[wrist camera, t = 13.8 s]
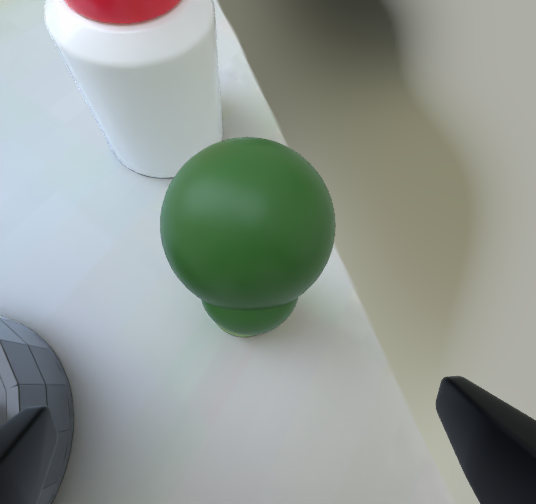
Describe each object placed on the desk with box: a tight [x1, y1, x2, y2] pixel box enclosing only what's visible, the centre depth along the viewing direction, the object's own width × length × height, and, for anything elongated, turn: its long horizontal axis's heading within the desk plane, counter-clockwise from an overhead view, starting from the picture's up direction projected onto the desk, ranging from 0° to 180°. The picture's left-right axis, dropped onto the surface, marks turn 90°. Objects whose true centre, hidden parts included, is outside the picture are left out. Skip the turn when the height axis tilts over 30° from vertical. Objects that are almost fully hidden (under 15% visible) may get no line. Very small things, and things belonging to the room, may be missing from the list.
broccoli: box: [160, 137, 335, 337], centre depth 14 cm, size 6×5×13 cm
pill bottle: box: [44, 0, 223, 178], centre depth 19 cm, size 8×8×11 cm
